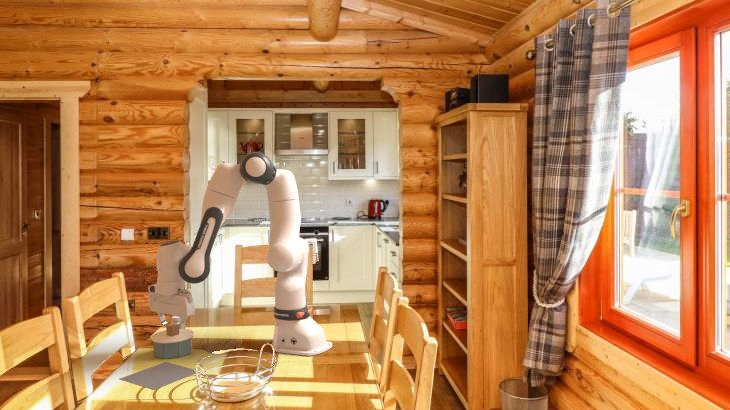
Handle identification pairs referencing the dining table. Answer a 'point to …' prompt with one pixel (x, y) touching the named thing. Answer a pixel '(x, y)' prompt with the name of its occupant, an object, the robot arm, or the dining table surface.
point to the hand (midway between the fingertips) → (172, 326)
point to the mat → (159, 375)
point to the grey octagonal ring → (172, 349)
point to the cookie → (222, 346)
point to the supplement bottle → (176, 320)
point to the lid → (172, 334)
